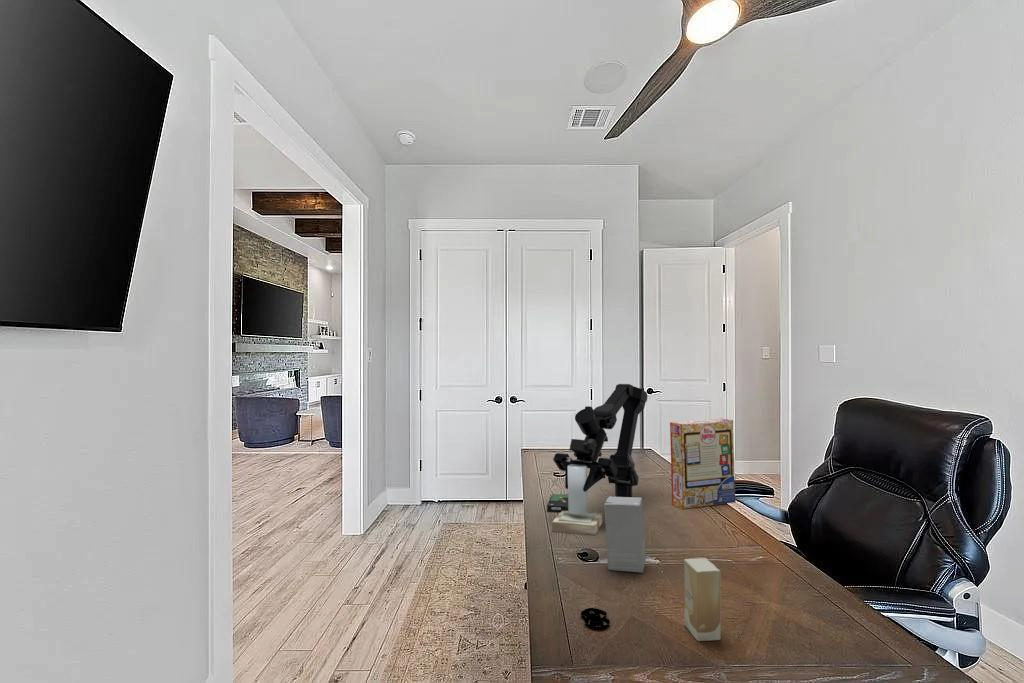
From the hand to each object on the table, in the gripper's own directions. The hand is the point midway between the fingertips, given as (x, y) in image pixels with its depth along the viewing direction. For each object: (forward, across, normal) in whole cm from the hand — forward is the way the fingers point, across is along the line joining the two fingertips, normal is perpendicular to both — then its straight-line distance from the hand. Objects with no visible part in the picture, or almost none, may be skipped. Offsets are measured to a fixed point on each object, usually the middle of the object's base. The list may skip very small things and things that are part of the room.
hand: (575, 489), depth 164 cm
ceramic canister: (+4, 0, +6) cm, 7 cm away
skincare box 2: (+36, +48, -21) cm, 64 cm away
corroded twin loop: (+41, +30, -25) cm, 57 cm away
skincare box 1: (+22, +24, -6) cm, 33 cm away
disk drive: (-4, -14, +21) cm, 26 cm away
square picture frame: (+7, 0, +9) cm, 11 cm away
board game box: (-23, +22, +40) cm, 51 cm away
